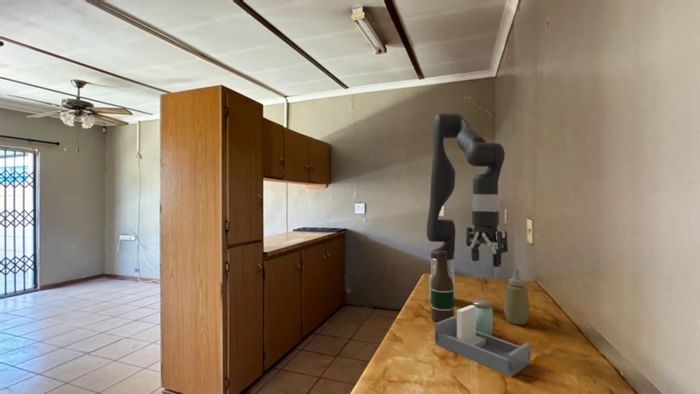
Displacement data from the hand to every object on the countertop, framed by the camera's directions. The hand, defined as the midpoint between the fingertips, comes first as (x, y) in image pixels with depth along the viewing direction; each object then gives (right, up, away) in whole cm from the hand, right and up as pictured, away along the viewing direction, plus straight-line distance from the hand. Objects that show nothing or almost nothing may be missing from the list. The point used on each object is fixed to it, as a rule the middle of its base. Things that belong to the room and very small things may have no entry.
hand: (485, 263), depth 97 cm
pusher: (-7, -22, -6) cm, 23 cm away
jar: (+1, -23, +4) cm, 23 cm away
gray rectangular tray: (-5, -23, -8) cm, 25 cm away
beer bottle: (-9, -23, +15) cm, 29 cm away
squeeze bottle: (+16, -23, +13) cm, 31 cm away
